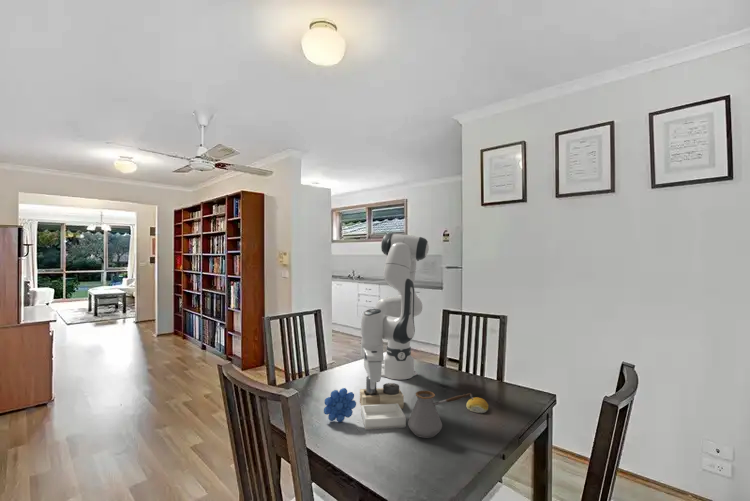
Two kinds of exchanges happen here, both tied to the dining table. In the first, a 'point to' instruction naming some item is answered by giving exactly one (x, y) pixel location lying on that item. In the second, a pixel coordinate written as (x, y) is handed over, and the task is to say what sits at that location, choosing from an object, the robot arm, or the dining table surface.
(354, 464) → the dining table surface
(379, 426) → the tray
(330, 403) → the blue lobed round piece
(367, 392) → the pin
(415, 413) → the coffee pot
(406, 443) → the dining table surface
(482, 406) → the bread roll
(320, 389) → the dining table surface
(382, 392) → the plate
